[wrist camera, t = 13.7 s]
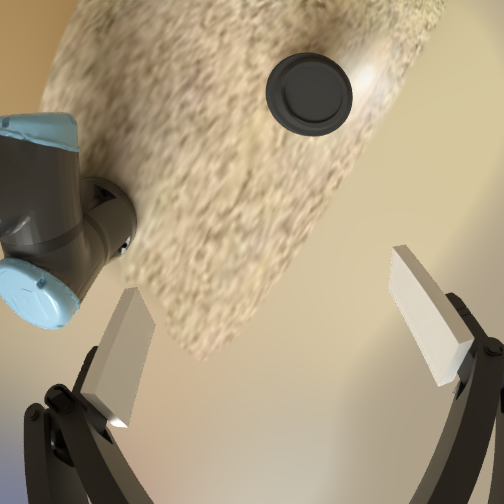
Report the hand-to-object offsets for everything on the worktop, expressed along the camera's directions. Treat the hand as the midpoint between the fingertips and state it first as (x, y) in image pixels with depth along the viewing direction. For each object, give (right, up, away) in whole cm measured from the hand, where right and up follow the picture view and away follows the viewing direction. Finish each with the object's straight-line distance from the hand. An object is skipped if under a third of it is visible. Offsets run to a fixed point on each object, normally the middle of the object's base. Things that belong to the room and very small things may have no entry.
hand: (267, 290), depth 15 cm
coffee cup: (+5, +24, +23) cm, 34 cm away
